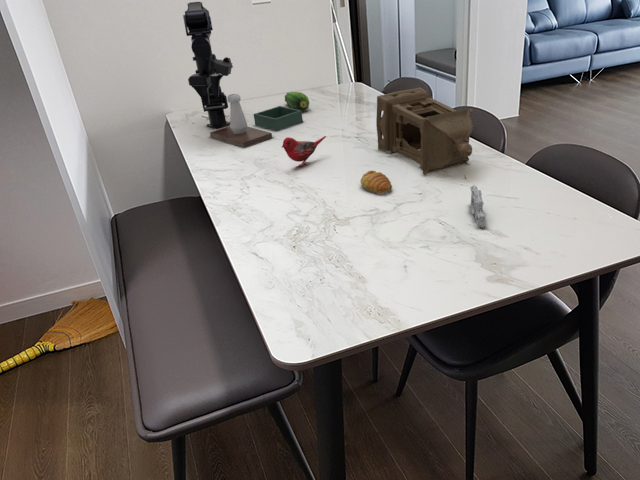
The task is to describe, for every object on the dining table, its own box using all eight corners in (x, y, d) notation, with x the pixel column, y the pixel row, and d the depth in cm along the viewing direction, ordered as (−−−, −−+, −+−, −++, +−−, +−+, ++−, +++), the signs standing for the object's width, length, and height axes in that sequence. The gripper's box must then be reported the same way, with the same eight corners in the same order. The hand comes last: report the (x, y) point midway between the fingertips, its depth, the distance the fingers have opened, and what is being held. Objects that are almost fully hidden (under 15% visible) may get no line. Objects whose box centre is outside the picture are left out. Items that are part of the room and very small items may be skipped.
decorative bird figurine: (281, 172, 156) (277, 139, 151) (324, 154, 167) (321, 122, 162) (288, 174, 154) (283, 140, 149) (331, 156, 165) (328, 124, 160)
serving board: (210, 137, 190) (209, 132, 189) (238, 128, 197) (237, 123, 196) (244, 147, 177) (243, 142, 177) (272, 138, 185) (271, 132, 184)
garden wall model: (485, 228, 119) (487, 204, 116) (477, 228, 119) (478, 204, 116) (476, 205, 129) (477, 182, 126) (468, 205, 129) (469, 182, 126)
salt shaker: (232, 130, 189) (225, 93, 182) (248, 129, 189) (242, 91, 182) (230, 135, 184) (223, 97, 177) (247, 134, 184) (240, 95, 177)
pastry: (398, 191, 139) (398, 177, 137) (377, 198, 137) (376, 184, 135) (378, 180, 146) (378, 167, 144) (357, 186, 144) (356, 173, 142)
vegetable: (296, 92, 203) (283, 82, 219) (290, 110, 205) (277, 99, 222) (314, 98, 207) (299, 88, 223) (307, 116, 209) (294, 105, 225)
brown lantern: (489, 182, 146) (502, 115, 138) (435, 189, 139) (446, 118, 130) (419, 145, 173) (427, 86, 164) (371, 149, 166) (377, 88, 157)
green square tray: (255, 125, 199) (253, 114, 196) (281, 117, 206) (279, 105, 204) (276, 131, 191) (274, 119, 189) (302, 122, 198) (301, 110, 196)
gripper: (216, 56, 165) (226, 107, 173) (235, 46, 180) (243, 93, 188) (182, 58, 166) (193, 108, 174) (204, 47, 182) (213, 94, 190)
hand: (212, 100), depth 182 cm, fingers open, 9 cm apart
